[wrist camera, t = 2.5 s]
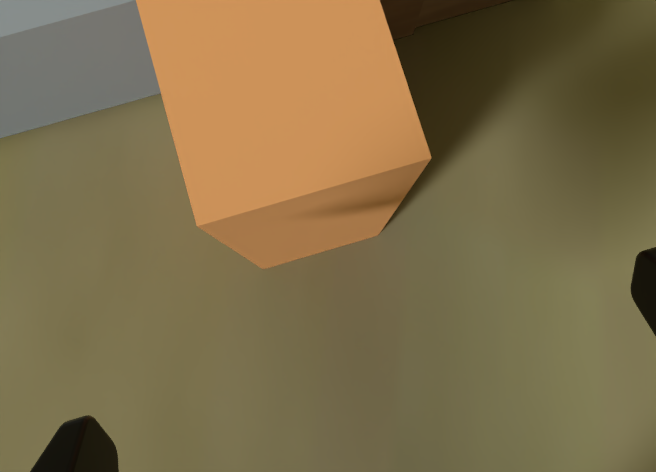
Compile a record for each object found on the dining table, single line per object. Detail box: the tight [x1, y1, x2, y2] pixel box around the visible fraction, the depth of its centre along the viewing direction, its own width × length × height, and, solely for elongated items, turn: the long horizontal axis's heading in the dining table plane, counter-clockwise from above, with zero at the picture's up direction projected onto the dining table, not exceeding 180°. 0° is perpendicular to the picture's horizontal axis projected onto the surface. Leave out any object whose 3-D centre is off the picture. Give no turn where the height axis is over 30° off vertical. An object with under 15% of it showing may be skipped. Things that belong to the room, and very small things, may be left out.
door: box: [0, 0, 161, 138], centre depth 19 cm, size 3×21×6 cm, turn 107°
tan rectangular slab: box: [136, 0, 432, 269], centre depth 16 cm, size 6×4×11 cm
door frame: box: [380, 0, 511, 40], centre depth 19 cm, size 2×38×7 cm, turn 107°
